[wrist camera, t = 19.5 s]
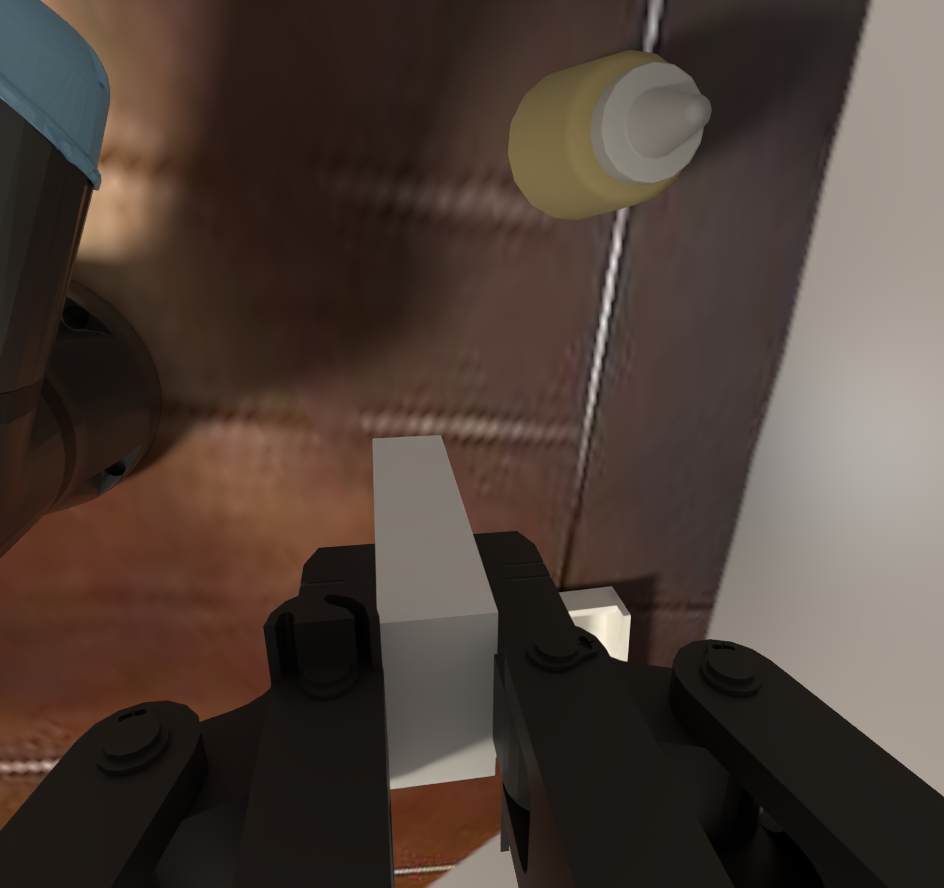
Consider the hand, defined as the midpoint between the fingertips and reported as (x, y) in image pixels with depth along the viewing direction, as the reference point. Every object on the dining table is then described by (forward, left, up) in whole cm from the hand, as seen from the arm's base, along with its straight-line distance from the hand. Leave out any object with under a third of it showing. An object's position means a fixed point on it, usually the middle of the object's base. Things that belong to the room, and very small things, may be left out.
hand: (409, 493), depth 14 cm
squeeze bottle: (+12, +9, -30) cm, 33 cm away
